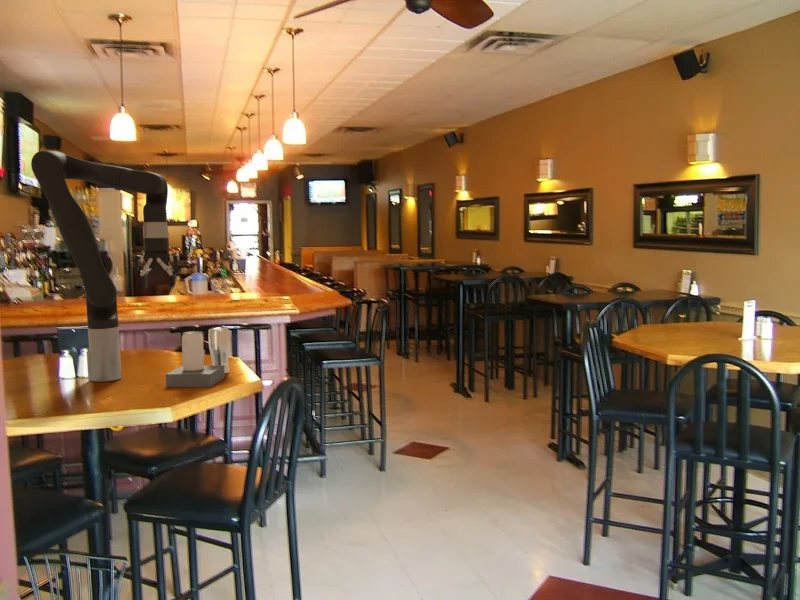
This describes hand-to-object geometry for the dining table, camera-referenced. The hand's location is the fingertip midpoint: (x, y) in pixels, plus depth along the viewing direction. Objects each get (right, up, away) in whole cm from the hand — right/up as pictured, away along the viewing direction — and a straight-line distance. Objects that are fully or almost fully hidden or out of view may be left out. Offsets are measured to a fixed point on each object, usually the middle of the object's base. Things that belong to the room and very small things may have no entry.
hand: (158, 287), depth 226 cm
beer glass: (+16, -29, +14) cm, 36 cm away
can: (+12, -26, -1) cm, 29 cm away
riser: (+12, -30, -1) cm, 33 cm away
